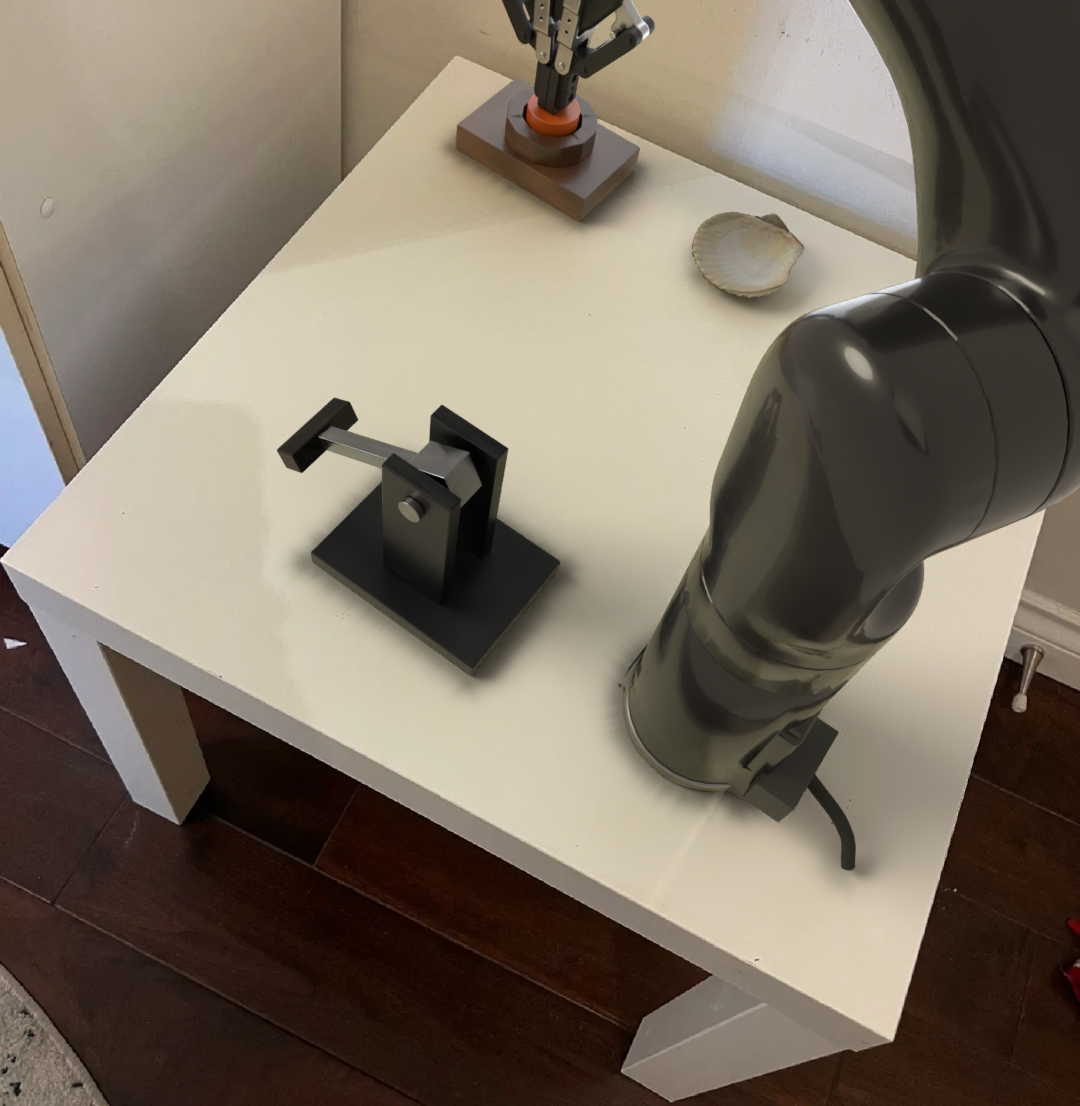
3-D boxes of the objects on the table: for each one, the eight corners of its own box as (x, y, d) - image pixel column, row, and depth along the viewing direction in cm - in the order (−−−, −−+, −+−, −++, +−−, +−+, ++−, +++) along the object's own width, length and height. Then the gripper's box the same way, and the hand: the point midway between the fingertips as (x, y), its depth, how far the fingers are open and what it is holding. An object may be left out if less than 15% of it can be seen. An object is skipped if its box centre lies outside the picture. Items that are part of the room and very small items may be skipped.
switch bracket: (311, 561, 63) (296, 448, 52) (406, 466, 67) (409, 344, 57) (470, 676, 60) (487, 581, 50) (558, 570, 64) (590, 462, 54)
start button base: (635, 170, 83) (645, 127, 80) (579, 222, 80) (588, 180, 76) (514, 100, 86) (519, 56, 82) (455, 148, 82) (458, 104, 79)
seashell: (674, 263, 81) (723, 319, 76) (673, 229, 79) (724, 285, 74) (767, 228, 82) (822, 282, 78) (769, 194, 80) (826, 247, 75)
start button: (586, 125, 81) (590, 106, 79) (557, 151, 79) (560, 131, 77) (544, 101, 81) (547, 81, 80) (514, 126, 79) (517, 106, 78)
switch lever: (289, 474, 60) (271, 443, 59) (346, 421, 63) (330, 389, 61) (441, 529, 54) (426, 496, 52) (498, 468, 56) (486, 434, 54)
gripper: (468, -162, 63) (452, 88, 78) (649, -66, 61) (597, 173, 75) (538, -204, 67) (511, 43, 82) (713, -115, 64) (651, 123, 79)
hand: (552, 105), depth 78 cm, fingers closed
